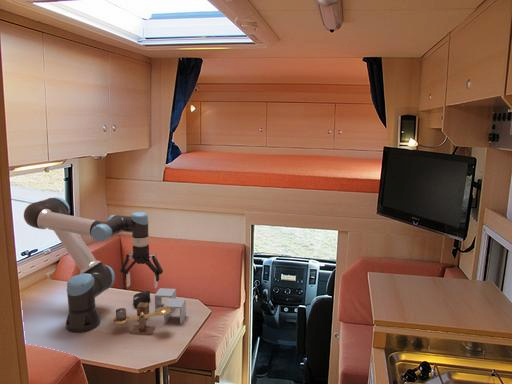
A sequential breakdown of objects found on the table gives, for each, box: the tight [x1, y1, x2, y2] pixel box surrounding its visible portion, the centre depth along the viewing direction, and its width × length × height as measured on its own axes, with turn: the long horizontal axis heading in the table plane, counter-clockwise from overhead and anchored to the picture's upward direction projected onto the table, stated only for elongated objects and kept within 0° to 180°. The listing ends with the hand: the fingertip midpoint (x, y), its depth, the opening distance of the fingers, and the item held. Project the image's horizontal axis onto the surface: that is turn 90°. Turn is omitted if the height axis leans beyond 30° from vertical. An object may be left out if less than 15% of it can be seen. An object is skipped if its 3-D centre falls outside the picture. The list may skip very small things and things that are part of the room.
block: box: [136, 302, 150, 321], centre depth 198 cm, size 4×4×7 cm
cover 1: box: [154, 287, 177, 314], centre depth 208 cm, size 9×9×9 cm
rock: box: [132, 290, 151, 308], centre depth 213 cm, size 9×10×6 cm
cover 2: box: [163, 297, 187, 325], centre depth 197 cm, size 9×9×9 cm
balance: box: [113, 305, 172, 336], centre depth 186 cm, size 27×7×11 cm, turn 86°
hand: (142, 286), depth 196 cm, fingers open, 13 cm apart
